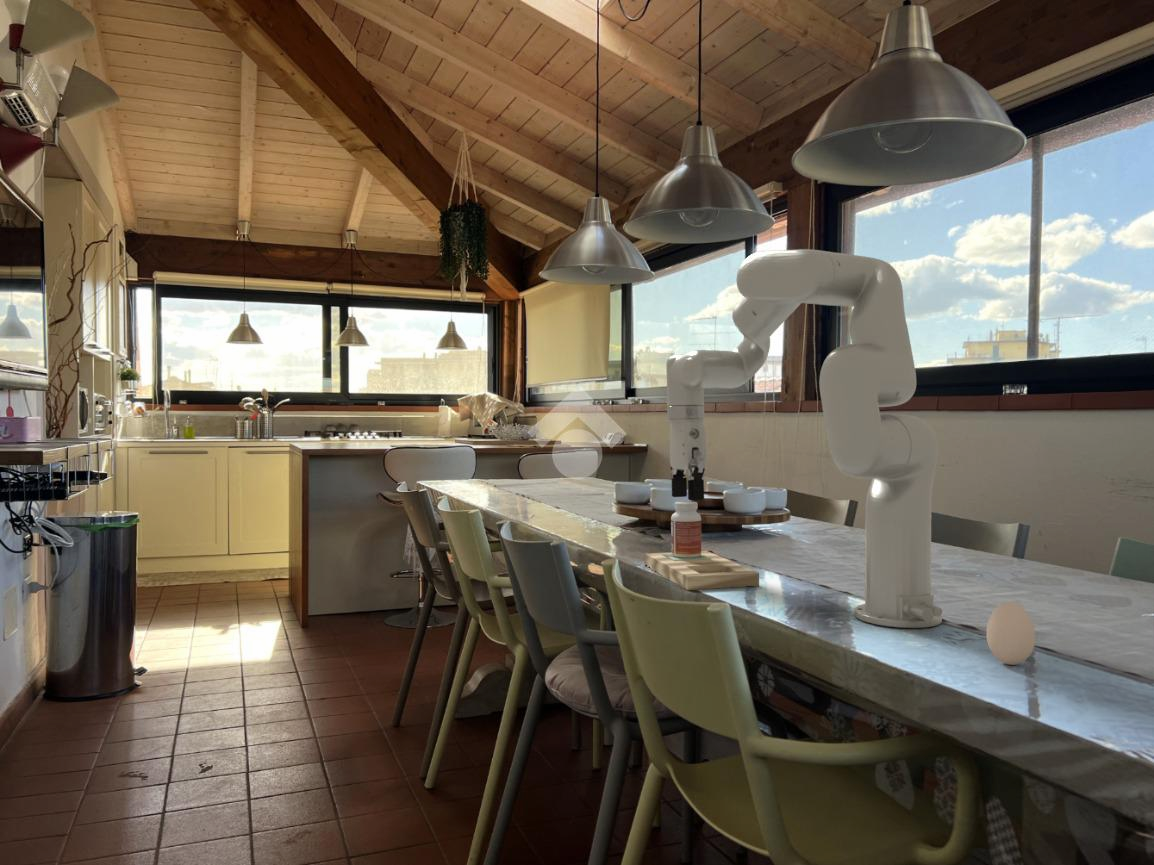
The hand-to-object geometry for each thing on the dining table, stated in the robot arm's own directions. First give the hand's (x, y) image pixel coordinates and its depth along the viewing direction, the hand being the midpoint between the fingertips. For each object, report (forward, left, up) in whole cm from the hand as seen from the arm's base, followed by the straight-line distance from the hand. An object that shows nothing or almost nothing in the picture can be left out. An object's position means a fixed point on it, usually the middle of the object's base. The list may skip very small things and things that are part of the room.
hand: (687, 498), depth 171 cm
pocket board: (-6, 0, -15) cm, 16 cm away
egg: (-71, -17, -15) cm, 75 cm away
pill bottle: (0, 0, -12) cm, 12 cm away
